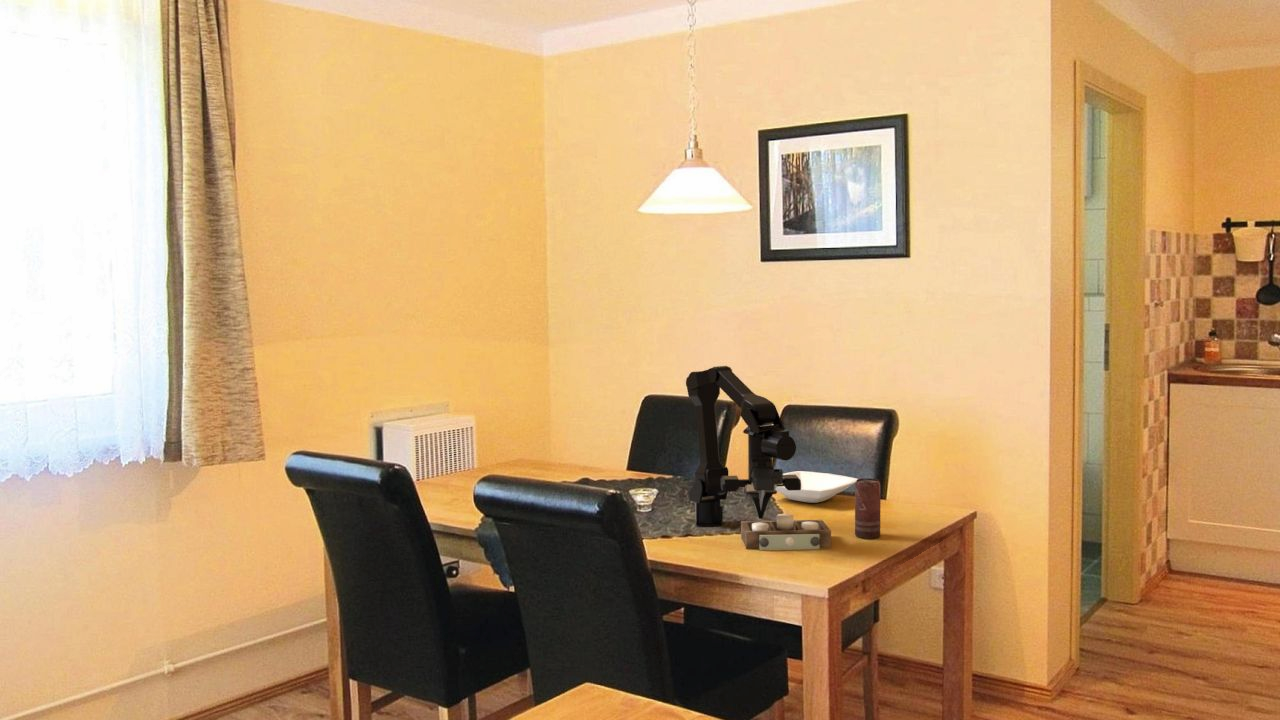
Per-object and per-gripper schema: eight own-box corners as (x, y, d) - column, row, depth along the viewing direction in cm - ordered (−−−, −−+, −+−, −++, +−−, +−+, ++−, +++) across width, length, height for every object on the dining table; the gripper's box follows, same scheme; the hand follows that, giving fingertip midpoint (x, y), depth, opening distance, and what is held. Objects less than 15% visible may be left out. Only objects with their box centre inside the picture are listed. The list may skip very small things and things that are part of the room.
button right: (803, 537, 263) (803, 525, 262) (800, 533, 267) (800, 521, 266) (819, 537, 263) (819, 525, 262) (816, 533, 267) (816, 521, 266)
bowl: (753, 502, 309) (753, 482, 309) (798, 488, 327) (798, 469, 326) (822, 513, 295) (822, 492, 294) (865, 498, 312) (865, 478, 312)
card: (759, 550, 258) (759, 535, 257) (759, 549, 258) (759, 535, 258) (819, 549, 258) (819, 534, 258) (819, 548, 259) (819, 533, 258)
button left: (753, 538, 262) (752, 526, 262) (751, 534, 266) (750, 522, 266) (769, 538, 263) (769, 526, 262) (767, 534, 267) (767, 522, 266)
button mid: (778, 530, 262) (778, 517, 262) (775, 526, 266) (775, 513, 266) (794, 529, 262) (794, 517, 262) (792, 525, 266) (792, 513, 266)
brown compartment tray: (746, 548, 259) (746, 532, 259) (741, 537, 270) (741, 521, 270) (830, 547, 259) (830, 530, 259) (822, 535, 270) (822, 519, 270)
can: (876, 540, 265) (876, 483, 264) (851, 537, 268) (851, 481, 267) (884, 535, 270) (885, 479, 269) (860, 532, 273) (860, 476, 272)
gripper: (724, 461, 254) (725, 527, 256) (804, 459, 255) (804, 525, 256) (720, 452, 265) (720, 516, 267) (797, 451, 266) (797, 514, 267)
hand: (760, 518), depth 264 cm, fingers closed
